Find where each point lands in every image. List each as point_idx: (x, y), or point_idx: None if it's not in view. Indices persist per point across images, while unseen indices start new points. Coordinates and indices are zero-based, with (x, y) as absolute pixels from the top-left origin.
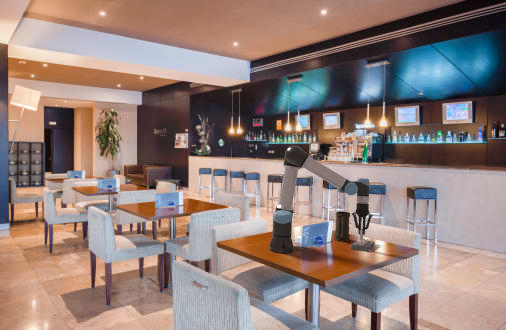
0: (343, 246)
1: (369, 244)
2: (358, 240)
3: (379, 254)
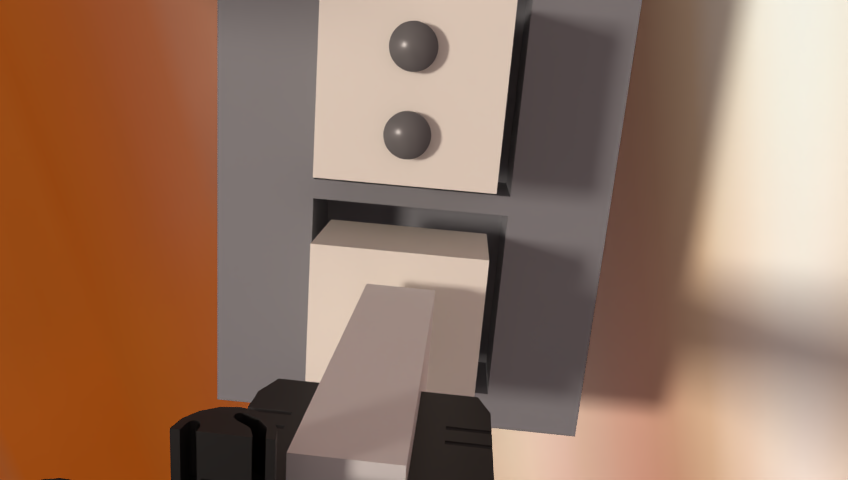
0: (54, 225)
1: (585, 163)
2: (321, 338)
3: (790, 452)
